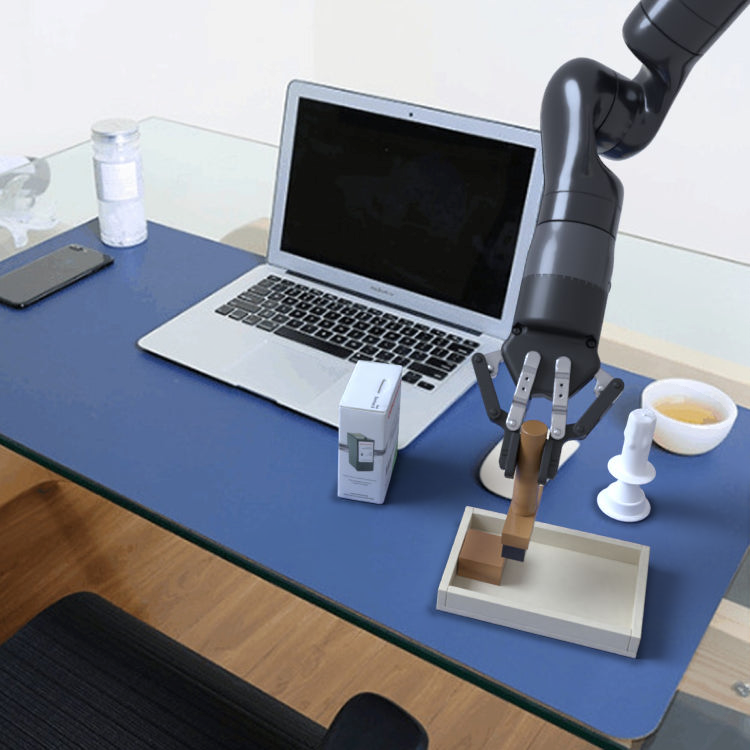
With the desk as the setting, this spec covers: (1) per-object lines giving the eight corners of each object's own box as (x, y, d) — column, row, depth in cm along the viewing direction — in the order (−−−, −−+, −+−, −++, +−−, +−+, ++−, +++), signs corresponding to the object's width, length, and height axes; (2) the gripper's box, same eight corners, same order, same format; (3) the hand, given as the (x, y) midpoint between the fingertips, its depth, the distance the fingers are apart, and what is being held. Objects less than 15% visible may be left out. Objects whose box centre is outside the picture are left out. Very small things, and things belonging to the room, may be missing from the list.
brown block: (508, 556, 95) (510, 538, 93) (499, 586, 92) (502, 567, 90) (466, 546, 96) (468, 528, 94) (456, 575, 92) (458, 556, 91)
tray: (645, 566, 95) (650, 546, 94) (635, 658, 86) (640, 638, 84) (464, 525, 99) (466, 505, 98) (436, 609, 90) (438, 589, 88)
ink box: (354, 446, 109) (357, 355, 102) (399, 454, 108) (404, 362, 101) (335, 498, 102) (336, 403, 95) (383, 506, 101) (388, 411, 94)
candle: (661, 513, 101) (685, 418, 95) (619, 528, 99) (641, 433, 92) (627, 482, 105) (648, 388, 98) (586, 496, 103) (605, 402, 96)
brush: (539, 510, 93) (556, 406, 86) (525, 563, 87) (541, 456, 80) (514, 504, 93) (528, 400, 86) (498, 557, 88) (512, 450, 81)
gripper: (482, 258, 85) (439, 458, 82) (649, 285, 82) (610, 494, 79) (489, 284, 92) (450, 469, 89) (643, 310, 89) (607, 502, 86)
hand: (525, 480), depth 84 cm, fingers closed on brush, 2 cm apart
